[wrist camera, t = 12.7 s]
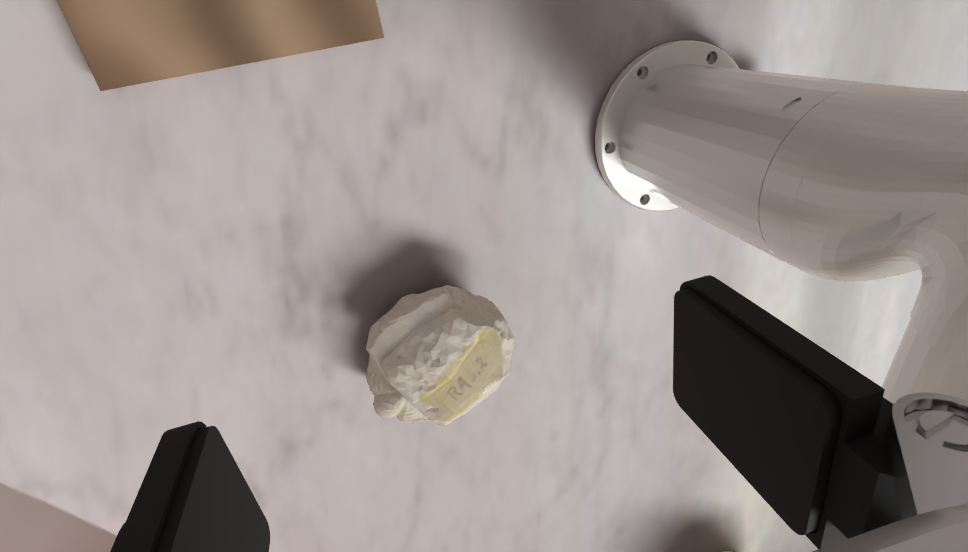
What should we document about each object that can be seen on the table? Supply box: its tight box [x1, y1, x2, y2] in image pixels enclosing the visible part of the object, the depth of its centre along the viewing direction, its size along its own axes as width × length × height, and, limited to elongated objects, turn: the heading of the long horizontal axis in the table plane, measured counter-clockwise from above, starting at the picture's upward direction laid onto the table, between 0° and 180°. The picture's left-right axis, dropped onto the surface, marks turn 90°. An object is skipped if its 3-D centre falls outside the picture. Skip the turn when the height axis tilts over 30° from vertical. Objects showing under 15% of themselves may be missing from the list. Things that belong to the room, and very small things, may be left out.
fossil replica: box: [366, 285, 514, 426], centre depth 39 cm, size 12×8×10 cm
